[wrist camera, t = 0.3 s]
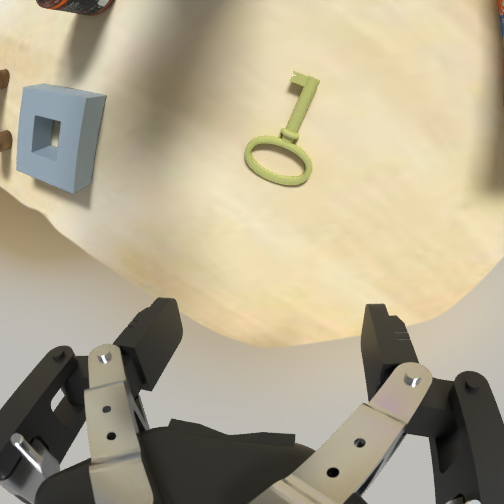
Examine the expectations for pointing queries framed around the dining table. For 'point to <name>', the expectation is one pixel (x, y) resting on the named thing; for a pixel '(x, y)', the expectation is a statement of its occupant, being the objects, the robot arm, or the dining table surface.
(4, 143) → the walnut pin short
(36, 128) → the collar block
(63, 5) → the supplement bottle
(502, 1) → the stack of blocks
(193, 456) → the robot arm
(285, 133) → the key
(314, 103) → the dining table surface
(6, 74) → the walnut pin tall
